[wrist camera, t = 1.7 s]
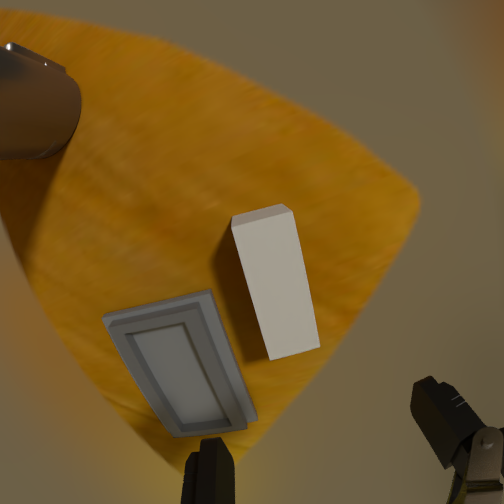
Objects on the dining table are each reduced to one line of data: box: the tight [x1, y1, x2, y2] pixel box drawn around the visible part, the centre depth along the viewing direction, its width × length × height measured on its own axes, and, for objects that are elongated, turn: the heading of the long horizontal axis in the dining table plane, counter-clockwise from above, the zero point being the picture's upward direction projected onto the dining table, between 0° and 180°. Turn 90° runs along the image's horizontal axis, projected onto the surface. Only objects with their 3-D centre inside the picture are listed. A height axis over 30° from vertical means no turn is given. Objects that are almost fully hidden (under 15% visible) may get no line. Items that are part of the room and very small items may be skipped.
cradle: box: [102, 289, 258, 438], centre depth 28 cm, size 12×18×2 cm, turn 14°
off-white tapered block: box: [231, 204, 320, 360], centre depth 25 cm, size 4×12×5 cm, turn 15°
